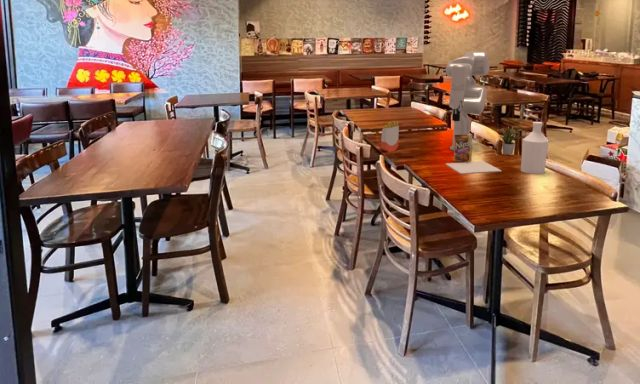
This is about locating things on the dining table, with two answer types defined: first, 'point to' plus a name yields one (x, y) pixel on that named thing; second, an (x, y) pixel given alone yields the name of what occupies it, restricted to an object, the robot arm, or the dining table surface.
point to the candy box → (463, 147)
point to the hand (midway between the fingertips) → (455, 120)
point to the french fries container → (390, 137)
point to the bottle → (534, 151)
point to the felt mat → (473, 167)
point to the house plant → (508, 141)
